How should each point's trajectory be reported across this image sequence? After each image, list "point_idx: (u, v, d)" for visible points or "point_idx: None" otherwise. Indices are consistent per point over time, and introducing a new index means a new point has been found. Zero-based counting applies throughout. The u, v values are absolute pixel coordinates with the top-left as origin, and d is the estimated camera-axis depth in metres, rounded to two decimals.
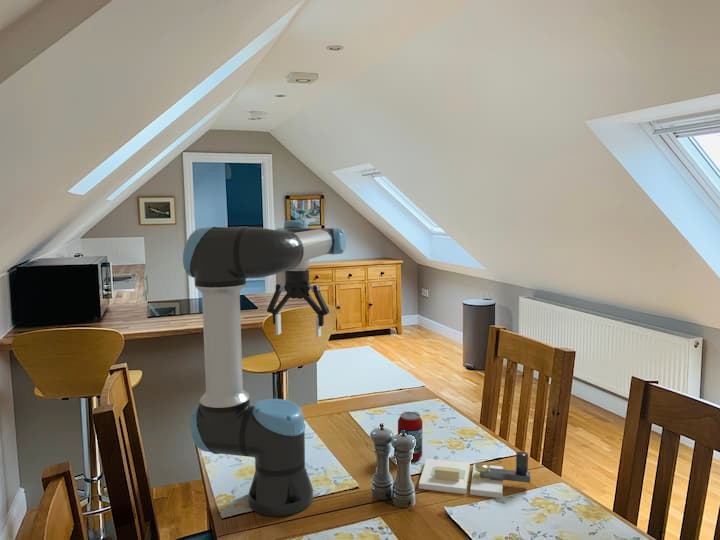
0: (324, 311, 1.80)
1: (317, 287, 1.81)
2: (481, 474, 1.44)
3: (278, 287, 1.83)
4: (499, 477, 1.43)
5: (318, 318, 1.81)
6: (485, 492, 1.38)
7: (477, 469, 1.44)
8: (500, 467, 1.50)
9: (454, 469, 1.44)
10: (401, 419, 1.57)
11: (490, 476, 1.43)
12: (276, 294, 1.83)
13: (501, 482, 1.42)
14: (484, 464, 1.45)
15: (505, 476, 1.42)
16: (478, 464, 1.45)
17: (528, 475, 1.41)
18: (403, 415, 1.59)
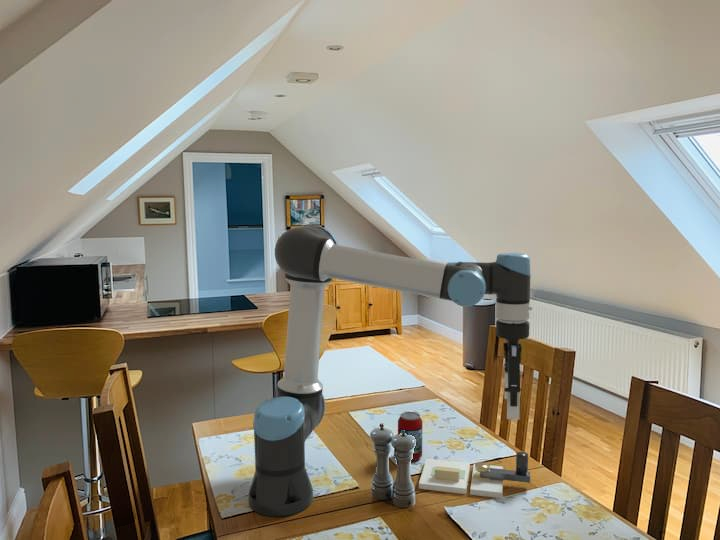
0: (508, 386, 1.27)
1: (512, 350, 1.28)
2: (481, 474, 1.44)
3: (506, 338, 1.40)
4: (499, 477, 1.43)
5: (508, 393, 1.29)
6: (485, 492, 1.38)
7: (477, 469, 1.44)
8: (500, 467, 1.50)
9: (454, 469, 1.44)
10: (401, 419, 1.57)
11: (490, 476, 1.43)
12: None
13: (501, 482, 1.42)
14: (484, 464, 1.45)
15: (505, 476, 1.42)
16: (478, 464, 1.45)
17: (528, 475, 1.41)
18: (403, 415, 1.59)
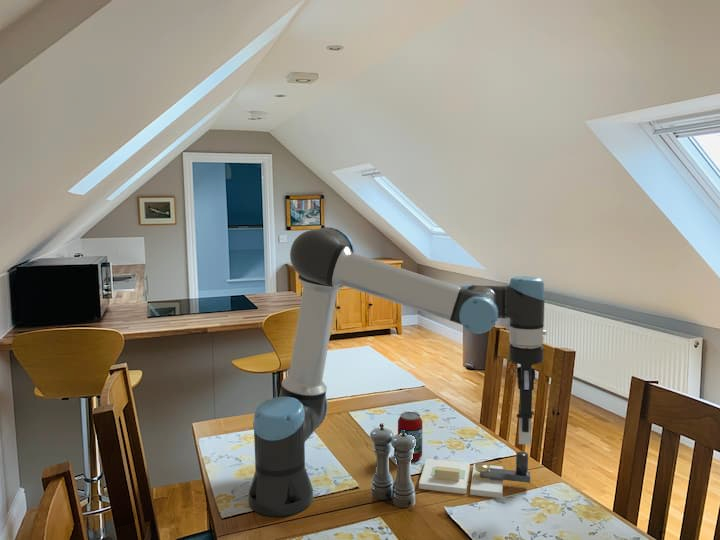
0: (520, 413, 1.31)
1: (524, 386, 1.27)
2: (481, 474, 1.44)
3: None
4: (499, 477, 1.43)
5: (520, 419, 1.34)
6: (485, 492, 1.38)
7: (477, 469, 1.44)
8: (500, 467, 1.50)
9: (454, 469, 1.44)
10: (401, 419, 1.57)
11: (490, 476, 1.43)
12: None
13: (501, 482, 1.42)
14: (484, 464, 1.45)
15: (505, 476, 1.42)
16: (478, 464, 1.45)
17: (528, 475, 1.41)
18: (403, 415, 1.59)
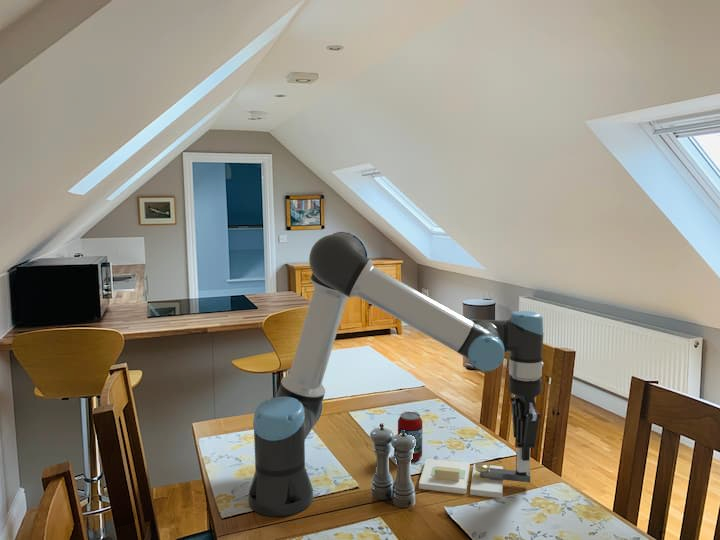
0: (524, 443, 1.36)
1: (533, 418, 1.32)
2: (481, 474, 1.44)
3: (512, 400, 1.43)
4: (499, 477, 1.43)
5: (520, 449, 1.39)
6: (485, 492, 1.38)
7: (477, 469, 1.44)
8: (500, 467, 1.50)
9: (454, 469, 1.44)
10: (401, 419, 1.57)
11: (490, 476, 1.43)
12: (513, 410, 1.43)
13: (501, 482, 1.42)
14: (484, 464, 1.45)
15: (505, 476, 1.42)
16: (478, 464, 1.45)
17: (528, 475, 1.41)
18: (403, 415, 1.59)
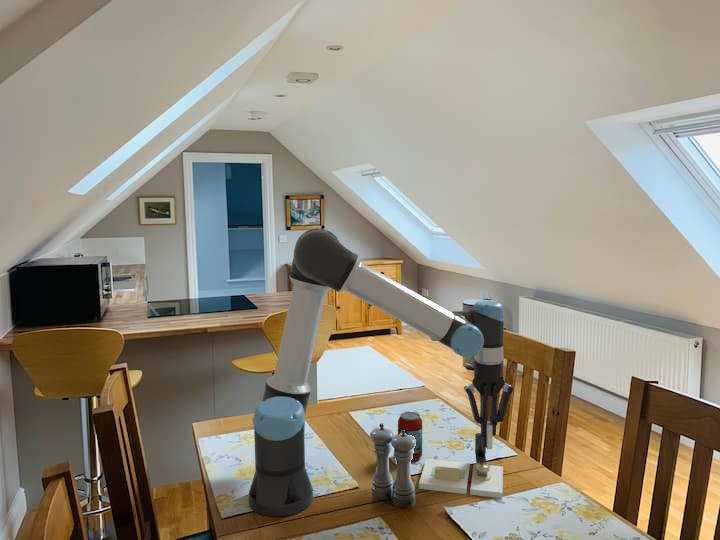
0: (501, 418, 1.52)
1: None
2: None
3: (470, 391, 1.50)
4: None
5: (492, 427, 1.52)
6: (485, 492, 1.38)
7: (488, 469, 1.43)
8: (500, 467, 1.50)
9: (454, 469, 1.44)
10: (401, 419, 1.57)
11: None
12: (473, 399, 1.51)
13: (501, 482, 1.42)
14: (479, 464, 1.45)
15: None
16: (481, 467, 1.44)
17: None
18: (403, 415, 1.59)
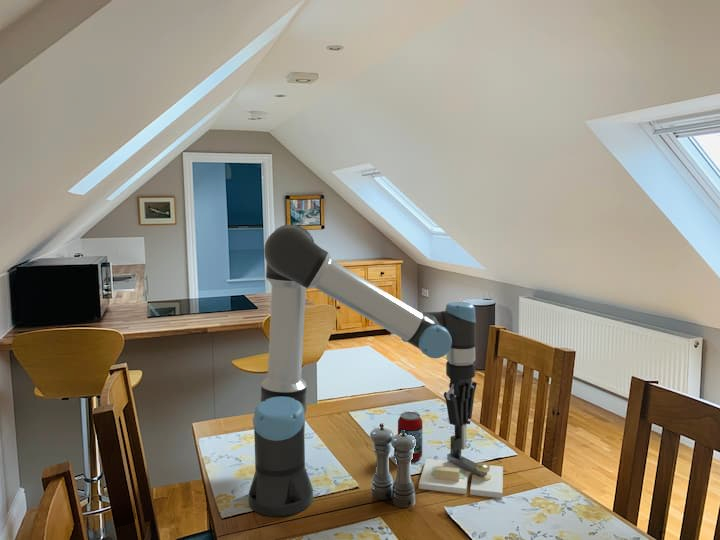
0: (470, 415, 1.54)
1: None
2: None
3: (453, 396, 1.47)
4: None
5: None
6: (485, 492, 1.38)
7: (489, 467, 1.44)
8: (500, 467, 1.50)
9: (454, 469, 1.44)
10: (401, 419, 1.57)
11: None
12: (455, 403, 1.48)
13: (501, 482, 1.42)
14: (479, 465, 1.45)
15: None
16: (484, 467, 1.44)
17: None
18: (403, 415, 1.59)
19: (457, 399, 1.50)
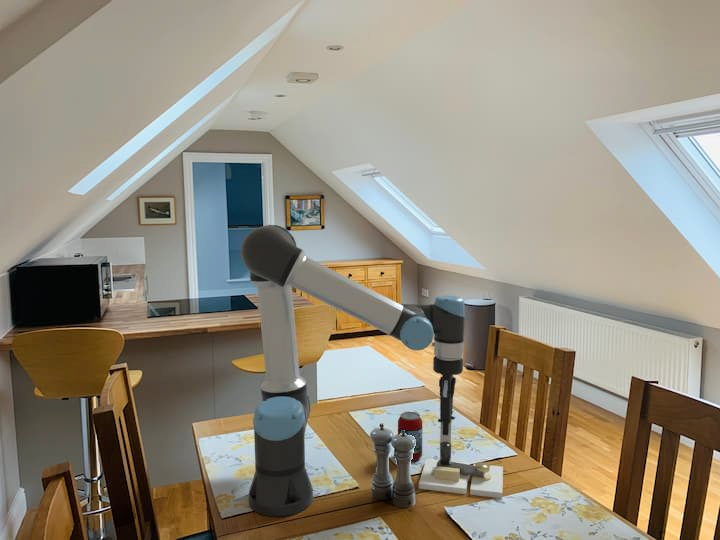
0: None
1: None
2: None
3: None
4: None
5: None
6: (485, 492, 1.38)
7: None
8: (500, 467, 1.50)
9: (454, 469, 1.44)
10: (401, 419, 1.57)
11: None
12: (450, 400, 1.44)
13: (501, 482, 1.42)
14: (480, 466, 1.44)
15: None
16: (486, 466, 1.44)
17: (440, 460, 1.50)
18: (403, 415, 1.59)
19: None
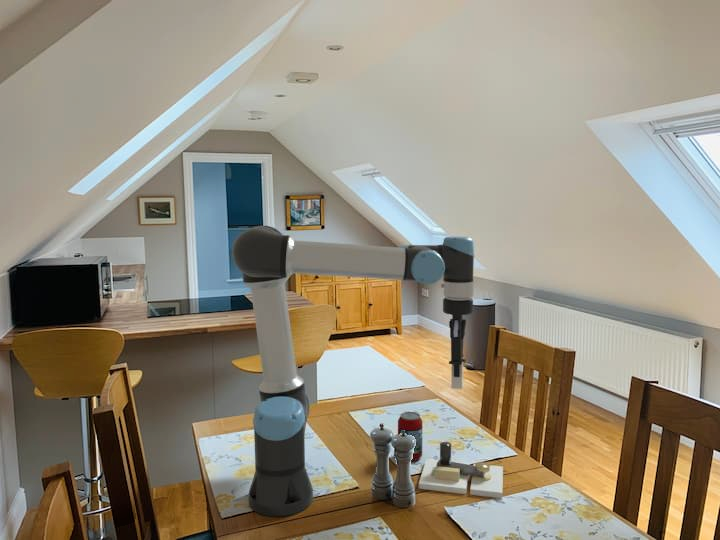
0: None
1: None
2: None
3: None
4: None
5: None
6: (485, 492, 1.38)
7: None
8: (500, 467, 1.50)
9: (454, 469, 1.44)
10: (401, 419, 1.57)
11: None
12: (461, 339, 1.43)
13: (501, 482, 1.42)
14: (480, 466, 1.44)
15: None
16: (486, 466, 1.44)
17: (440, 460, 1.50)
18: (403, 415, 1.59)
19: None
